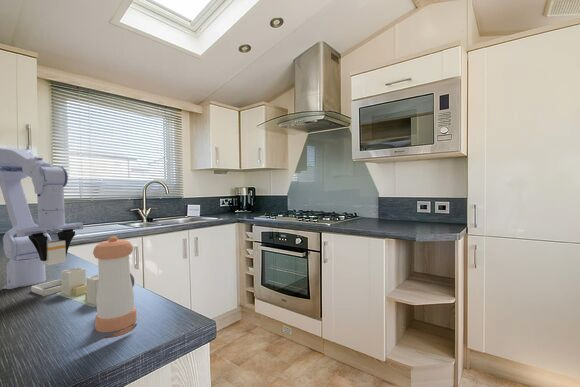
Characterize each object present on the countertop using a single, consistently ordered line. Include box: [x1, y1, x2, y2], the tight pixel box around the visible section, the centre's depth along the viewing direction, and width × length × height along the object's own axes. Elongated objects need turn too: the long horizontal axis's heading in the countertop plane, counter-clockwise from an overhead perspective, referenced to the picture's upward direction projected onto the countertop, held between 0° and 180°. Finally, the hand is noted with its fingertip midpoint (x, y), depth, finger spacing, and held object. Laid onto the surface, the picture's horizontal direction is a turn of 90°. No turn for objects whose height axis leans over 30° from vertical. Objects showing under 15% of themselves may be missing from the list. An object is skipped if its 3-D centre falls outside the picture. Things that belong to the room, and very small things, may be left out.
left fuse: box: [60, 266, 87, 296], centre depth 79 cm, size 4×4×6 cm
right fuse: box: [86, 274, 99, 305], centre depth 72 cm, size 4×4×6 cm
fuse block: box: [55, 284, 97, 308], centre depth 75 cm, size 19×6×3 cm, turn 60°
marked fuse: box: [42, 239, 67, 266], centre depth 81 cm, size 4×4×6 cm
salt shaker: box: [92, 235, 138, 339], centre depth 60 cm, size 7×7×19 cm
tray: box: [30, 278, 62, 297], centre depth 81 cm, size 8×8×3 cm
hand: (53, 258), depth 81 cm, fingers closed on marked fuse, 4 cm apart
